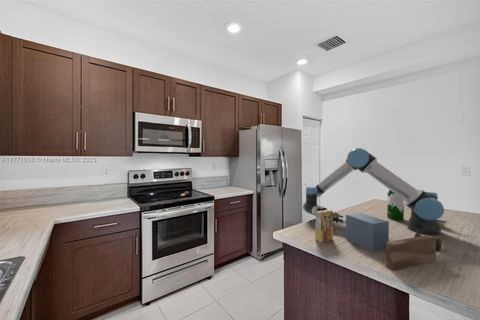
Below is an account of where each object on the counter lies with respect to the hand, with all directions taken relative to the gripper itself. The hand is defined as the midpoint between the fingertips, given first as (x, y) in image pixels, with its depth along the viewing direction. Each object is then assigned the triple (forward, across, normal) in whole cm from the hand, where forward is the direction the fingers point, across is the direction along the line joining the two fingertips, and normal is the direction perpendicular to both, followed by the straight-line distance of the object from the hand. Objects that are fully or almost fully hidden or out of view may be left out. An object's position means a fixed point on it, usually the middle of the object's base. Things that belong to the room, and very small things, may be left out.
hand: (348, 223), depth 117 cm
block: (+12, 0, -7) cm, 13 cm away
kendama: (+25, -21, -7) cm, 34 cm away
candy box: (+2, +17, -7) cm, 19 cm away
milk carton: (-14, -55, -7) cm, 57 cm away
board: (+33, 0, -7) cm, 34 cm away
